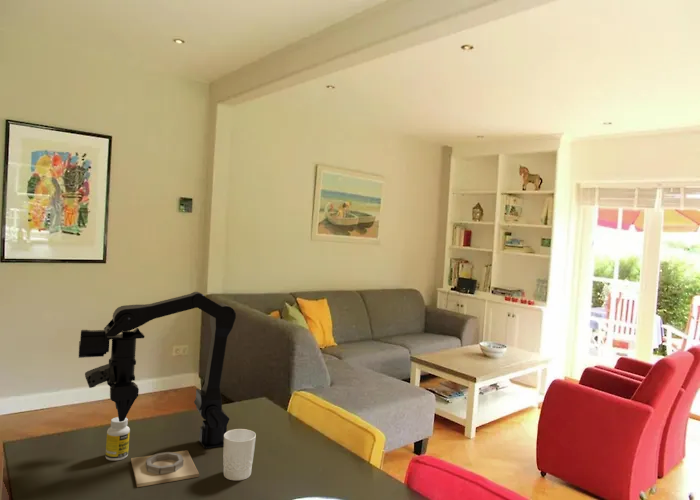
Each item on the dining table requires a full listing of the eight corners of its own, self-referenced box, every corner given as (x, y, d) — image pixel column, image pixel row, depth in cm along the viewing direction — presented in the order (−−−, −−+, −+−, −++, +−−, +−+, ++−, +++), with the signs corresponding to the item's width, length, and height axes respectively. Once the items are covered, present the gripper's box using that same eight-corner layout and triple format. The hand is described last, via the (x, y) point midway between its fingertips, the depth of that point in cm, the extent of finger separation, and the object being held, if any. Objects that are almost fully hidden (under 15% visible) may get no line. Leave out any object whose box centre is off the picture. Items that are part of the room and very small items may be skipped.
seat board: (187, 453, 133) (187, 444, 133) (198, 476, 121) (199, 467, 121) (130, 461, 126) (131, 452, 126) (137, 487, 114) (137, 477, 114)
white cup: (237, 485, 118) (240, 444, 118) (214, 475, 122) (216, 435, 122) (259, 473, 125) (262, 434, 125) (237, 464, 129) (239, 426, 129)
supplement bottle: (119, 462, 125) (121, 424, 125) (100, 459, 126) (102, 421, 126) (132, 454, 130) (135, 417, 130) (114, 450, 132) (116, 414, 131)
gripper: (87, 348, 132) (83, 406, 132) (89, 366, 116) (85, 432, 116) (132, 346, 137) (129, 402, 138) (140, 363, 121) (136, 426, 122)
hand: (119, 414), depth 128 cm, fingers open, 9 cm apart
